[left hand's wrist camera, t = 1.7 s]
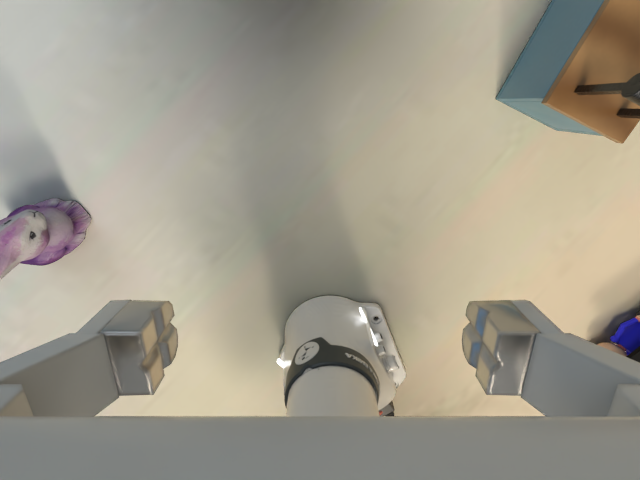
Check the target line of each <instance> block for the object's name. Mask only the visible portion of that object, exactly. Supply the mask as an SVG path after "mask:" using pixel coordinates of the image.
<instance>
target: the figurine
mask: <svg viewBox="0 0 640 480" xmlns="http://www.w3.org/2000/svg"><path fill="white" fill-rule="evenodd" d="M90 222H91V218H90V216H89V214H87V212H86V211H85V209H83V208H82V206H81V205H80V204H78V203H77V202H76V201H72V200H71V201H62V200H61V199H57V198H52V199H49V200H45V201H43V202H40V203H37V204H35V205H25V206H22V207H19V208H17V209H16V210H14V211H13V212H12V213H10V214H9V215H8V216H7V218H4V219H2V220H0V280H1V279H2V278H3V277H4V276H5V275H6V274H8V273H9V272H10V271H11V270H12V269H13V268H14V267H16V266H17V265H18V264H19V263H22V264H31V265H47V264H50V263H53V262H55V261H57V260H59V259H60V258H62V257H63V256H64V255H66V254H68V253H70V252H71V251H73V250H74V249H75V248H76V247H77V246H79V245H80V243H81V242H82V241H83V240H84V239H85V234H86V229H87V227H88V226H89V224H90Z"/></svg>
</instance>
